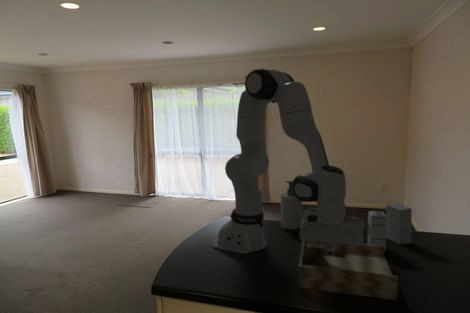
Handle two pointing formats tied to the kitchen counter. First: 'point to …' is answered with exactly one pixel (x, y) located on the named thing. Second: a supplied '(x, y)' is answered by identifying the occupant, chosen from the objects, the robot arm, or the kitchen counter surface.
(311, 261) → the walnut block
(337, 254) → the tray
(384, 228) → the syrup box
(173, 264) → the kitchen counter surface
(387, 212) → the skincare box
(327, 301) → the kitchen counter surface
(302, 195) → the robot arm
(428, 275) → the kitchen counter surface
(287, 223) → the soap bottle
